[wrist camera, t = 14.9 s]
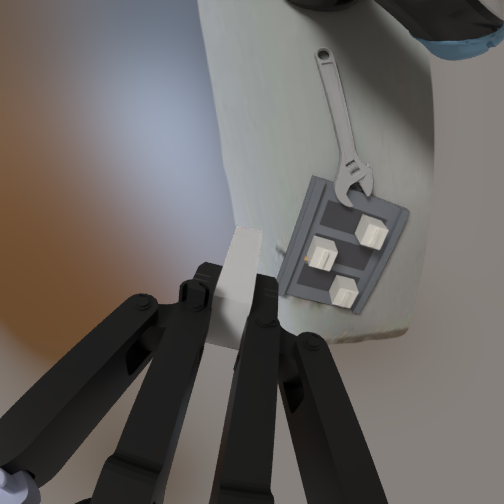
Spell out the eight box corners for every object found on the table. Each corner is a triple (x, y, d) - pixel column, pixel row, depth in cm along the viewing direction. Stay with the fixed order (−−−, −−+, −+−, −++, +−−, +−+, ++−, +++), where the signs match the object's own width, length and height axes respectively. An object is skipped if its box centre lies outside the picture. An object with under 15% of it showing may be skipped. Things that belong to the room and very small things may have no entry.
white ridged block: (336, 274, 51) (340, 289, 47) (354, 279, 51) (359, 294, 47) (328, 290, 53) (332, 306, 49) (346, 295, 53) (350, 310, 49)
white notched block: (362, 214, 46) (370, 225, 42) (381, 220, 46) (389, 231, 42) (354, 233, 47) (361, 245, 43) (373, 239, 47) (380, 251, 43)
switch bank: (312, 175, 45) (313, 178, 43) (407, 208, 46) (411, 213, 44) (273, 287, 55) (273, 293, 53) (358, 307, 56) (360, 314, 54)
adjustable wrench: (311, 49, 36) (313, 46, 34) (352, 48, 35) (355, 45, 33) (334, 204, 46) (336, 207, 44) (372, 200, 45) (375, 203, 43)
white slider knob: (313, 235, 48) (317, 248, 44) (333, 241, 48) (338, 254, 44) (306, 253, 50) (309, 267, 46) (326, 259, 50) (330, 273, 46)
